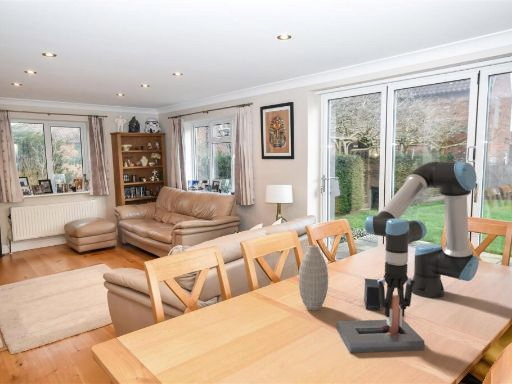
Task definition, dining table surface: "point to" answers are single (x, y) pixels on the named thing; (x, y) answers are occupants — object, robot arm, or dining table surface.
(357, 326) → the grey slotted plate
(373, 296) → the small box
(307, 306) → the vase
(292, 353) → the dining table surface
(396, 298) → the stud
